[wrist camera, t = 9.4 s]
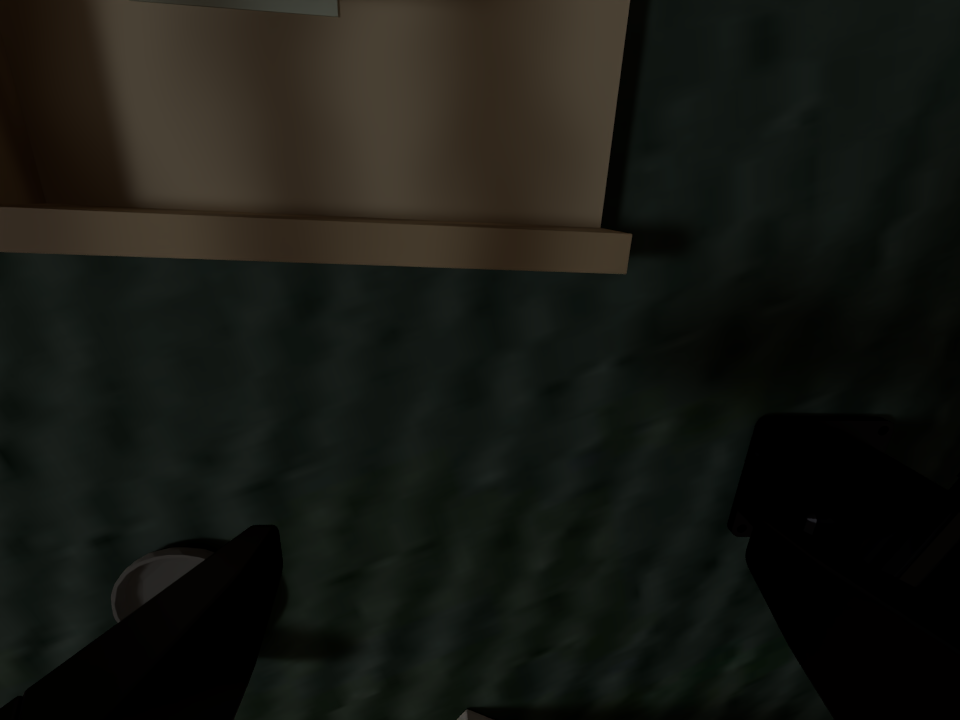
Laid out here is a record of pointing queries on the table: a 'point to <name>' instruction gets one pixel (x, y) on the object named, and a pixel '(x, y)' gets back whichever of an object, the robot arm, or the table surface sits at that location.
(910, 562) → the robot arm
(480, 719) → the milk
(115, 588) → the pocket watch
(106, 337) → the table surface
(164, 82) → the board
